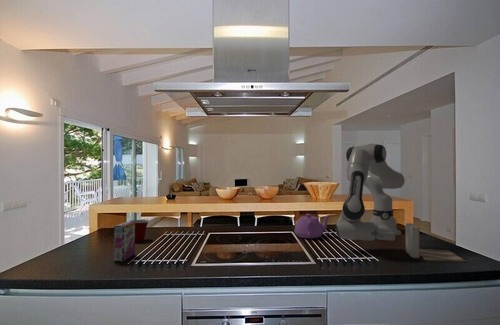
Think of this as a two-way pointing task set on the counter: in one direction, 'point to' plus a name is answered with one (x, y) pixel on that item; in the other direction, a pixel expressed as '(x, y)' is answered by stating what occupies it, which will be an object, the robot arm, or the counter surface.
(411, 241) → the tile
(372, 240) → the robot arm
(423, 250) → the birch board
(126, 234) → the candy bar box
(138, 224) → the plastic cup
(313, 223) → the teapot
